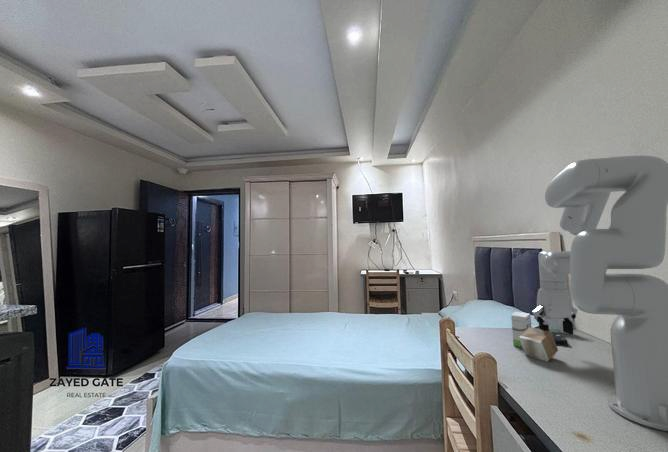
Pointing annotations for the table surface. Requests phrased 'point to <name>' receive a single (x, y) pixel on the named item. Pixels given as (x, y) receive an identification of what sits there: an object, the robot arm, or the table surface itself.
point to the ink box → (519, 326)
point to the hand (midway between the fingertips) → (556, 334)
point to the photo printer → (556, 324)
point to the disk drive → (558, 337)
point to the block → (538, 343)
